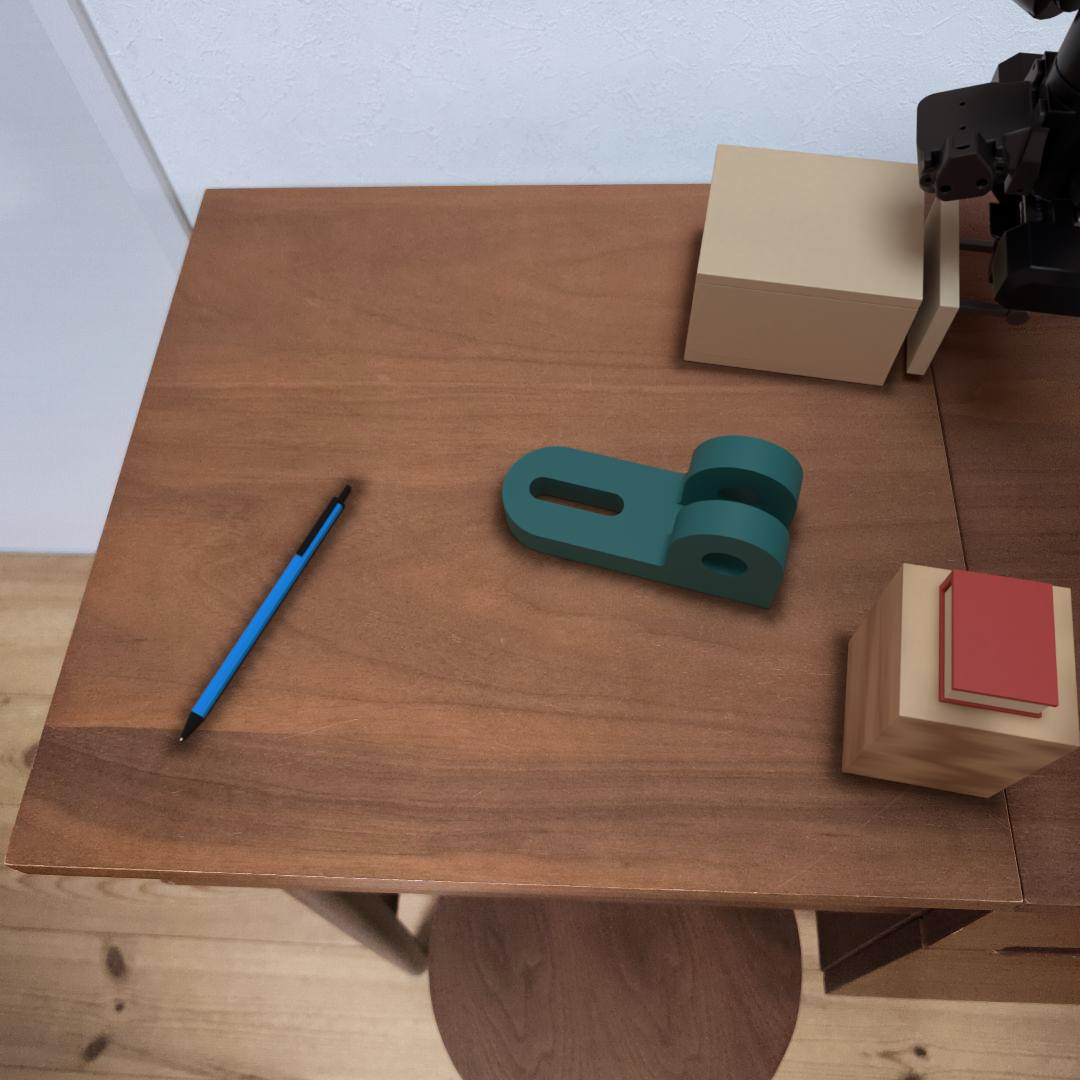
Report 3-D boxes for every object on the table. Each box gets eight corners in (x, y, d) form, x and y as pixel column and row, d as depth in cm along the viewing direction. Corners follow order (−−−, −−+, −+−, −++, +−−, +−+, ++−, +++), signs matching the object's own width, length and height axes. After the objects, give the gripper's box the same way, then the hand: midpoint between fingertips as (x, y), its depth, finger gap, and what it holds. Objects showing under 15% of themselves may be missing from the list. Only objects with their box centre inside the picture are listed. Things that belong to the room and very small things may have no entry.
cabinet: (887, 259, 71) (925, 164, 63) (882, 386, 65) (923, 299, 57) (702, 238, 72) (717, 143, 64) (683, 360, 67) (696, 272, 59)
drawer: (999, 268, 68) (1040, 194, 62) (1003, 386, 64) (1048, 318, 58) (752, 240, 71) (768, 166, 65) (738, 352, 66) (754, 283, 60)
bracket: (787, 516, 61) (814, 450, 54) (768, 609, 58) (794, 552, 51) (522, 454, 64) (514, 384, 57) (491, 540, 61) (479, 477, 54)
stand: (985, 664, 56) (1071, 587, 46) (988, 798, 52) (1081, 746, 43) (848, 641, 57) (903, 562, 47) (841, 772, 53) (899, 715, 44)
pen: (355, 492, 63) (352, 483, 62) (189, 745, 56) (182, 740, 55) (344, 487, 64) (341, 478, 62) (177, 739, 56) (169, 734, 55)
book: (1034, 600, 46) (1052, 583, 44) (1039, 718, 43) (1059, 705, 42) (939, 585, 46) (953, 568, 45) (938, 701, 44) (953, 688, 42)
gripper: (951, -52, 54) (875, 168, 68) (953, 179, 46) (866, 376, 59) (1158, -37, 52) (1037, 185, 66) (1198, 204, 44) (1051, 400, 58)
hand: (995, 279), depth 63 cm, fingers closed
